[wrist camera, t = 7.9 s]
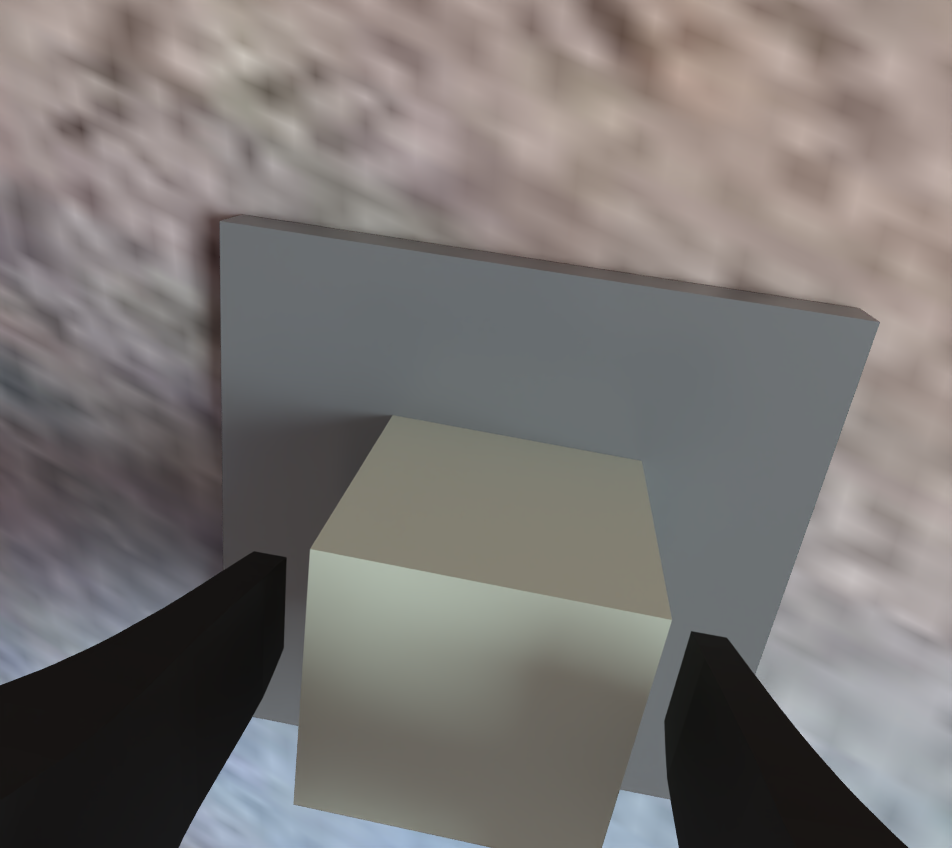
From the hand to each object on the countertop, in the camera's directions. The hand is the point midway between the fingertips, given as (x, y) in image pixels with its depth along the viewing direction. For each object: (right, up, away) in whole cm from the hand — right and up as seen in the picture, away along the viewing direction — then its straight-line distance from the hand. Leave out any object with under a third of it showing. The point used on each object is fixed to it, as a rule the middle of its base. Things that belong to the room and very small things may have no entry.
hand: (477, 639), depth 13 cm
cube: (0, +1, +3) cm, 3 cm away
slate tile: (+1, +1, +4) cm, 4 cm away
